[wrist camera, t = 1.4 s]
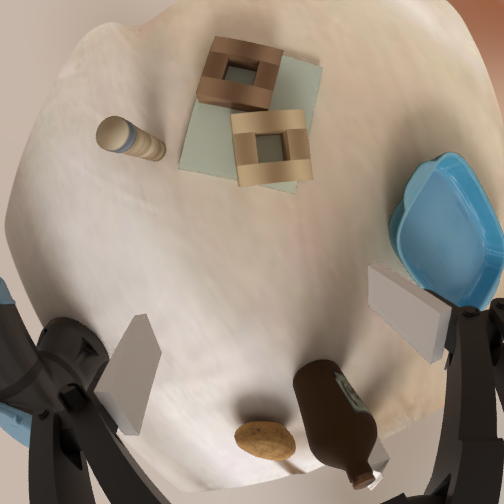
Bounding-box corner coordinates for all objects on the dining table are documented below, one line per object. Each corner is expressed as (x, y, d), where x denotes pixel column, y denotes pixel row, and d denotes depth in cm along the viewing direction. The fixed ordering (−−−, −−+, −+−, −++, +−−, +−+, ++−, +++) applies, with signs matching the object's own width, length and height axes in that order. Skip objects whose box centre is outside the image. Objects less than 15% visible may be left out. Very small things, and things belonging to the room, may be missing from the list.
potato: (252, 401, 47) (256, 432, 39) (300, 423, 50) (309, 450, 43) (221, 425, 48) (222, 454, 41) (270, 444, 52) (275, 470, 44)
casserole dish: (351, 228, 40) (374, 237, 33) (418, 129, 37) (445, 124, 30) (446, 326, 49) (465, 341, 42) (493, 249, 45) (514, 257, 39)
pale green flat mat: (179, 169, 35) (178, 168, 34) (215, 44, 31) (215, 40, 30) (292, 193, 38) (294, 194, 37) (320, 70, 33) (322, 67, 32)
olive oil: (306, 404, 49) (344, 504, 25) (278, 379, 46) (312, 496, 22) (350, 376, 48) (407, 469, 24) (327, 346, 45) (390, 455, 21)
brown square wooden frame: (198, 102, 32) (195, 93, 28) (215, 48, 30) (215, 36, 26) (264, 116, 33) (268, 108, 30) (277, 62, 31) (283, 50, 28)
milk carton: (365, 414, 52) (397, 470, 34) (356, 431, 54) (384, 485, 36) (339, 419, 52) (368, 481, 33) (331, 436, 53) (356, 495, 35)
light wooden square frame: (238, 186, 36) (239, 187, 32) (229, 121, 33) (230, 114, 29) (303, 179, 36) (312, 179, 32) (295, 116, 34) (303, 109, 30)
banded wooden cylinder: (143, 159, 34) (92, 149, 19) (147, 138, 34) (100, 114, 18) (163, 163, 35) (123, 152, 19) (168, 141, 34) (131, 116, 19)
